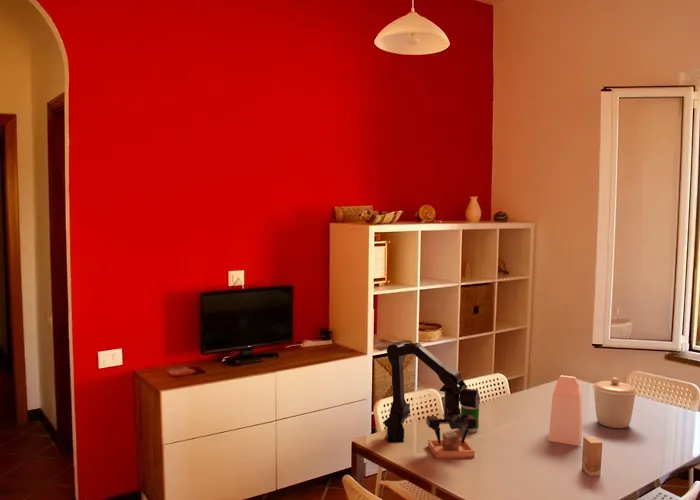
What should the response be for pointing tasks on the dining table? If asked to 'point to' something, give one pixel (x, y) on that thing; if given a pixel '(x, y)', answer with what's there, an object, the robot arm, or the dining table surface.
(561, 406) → the milk
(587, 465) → the skincare box
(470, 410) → the soda can
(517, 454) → the dining table surface
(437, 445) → the terracotta tray
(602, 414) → the canister
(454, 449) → the walnut block
